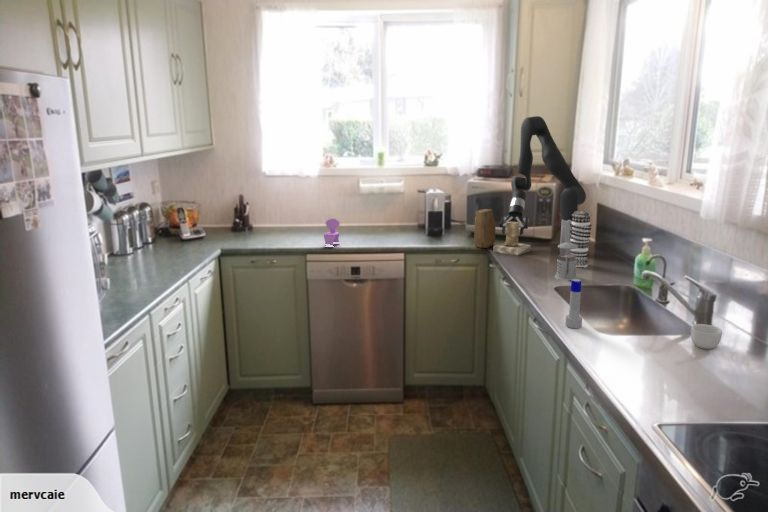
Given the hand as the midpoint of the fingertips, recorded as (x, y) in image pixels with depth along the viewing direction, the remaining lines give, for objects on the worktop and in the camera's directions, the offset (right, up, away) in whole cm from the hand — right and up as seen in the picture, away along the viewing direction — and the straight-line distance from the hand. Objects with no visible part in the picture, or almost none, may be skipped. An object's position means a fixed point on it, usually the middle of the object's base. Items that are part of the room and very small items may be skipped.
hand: (512, 234), depth 275 cm
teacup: (+30, -38, -116) cm, 125 cm away
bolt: (-3, -34, -99) cm, 105 cm away
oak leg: (+1, -9, +3) cm, 9 cm away
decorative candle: (+24, -16, -26) cm, 39 cm away
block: (-11, -6, +15) cm, 20 cm away
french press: (+12, -21, -46) cm, 52 cm away
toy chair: (-94, -6, +25) cm, 98 cm away
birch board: (+1, -9, +3) cm, 9 cm away
